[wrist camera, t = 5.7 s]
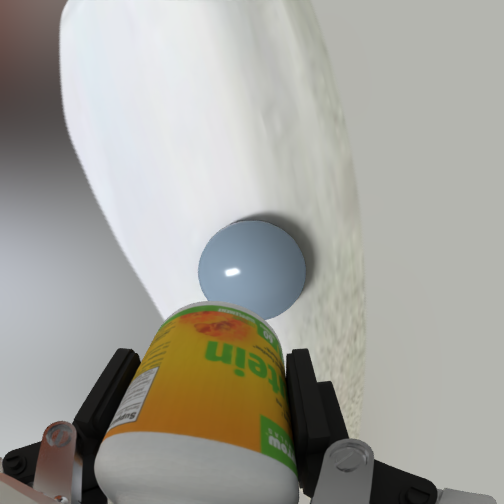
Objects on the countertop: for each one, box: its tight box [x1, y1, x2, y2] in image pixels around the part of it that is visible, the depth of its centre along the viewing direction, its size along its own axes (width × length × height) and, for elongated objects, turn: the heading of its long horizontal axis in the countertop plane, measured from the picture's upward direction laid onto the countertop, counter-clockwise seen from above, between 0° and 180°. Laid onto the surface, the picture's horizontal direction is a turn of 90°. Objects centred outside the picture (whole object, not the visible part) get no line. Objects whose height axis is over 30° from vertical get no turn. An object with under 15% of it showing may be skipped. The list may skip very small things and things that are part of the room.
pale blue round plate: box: [198, 220, 306, 320], centre depth 27 cm, size 10×10×2 cm
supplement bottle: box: [94, 301, 299, 504], centre depth 7 cm, size 5×5×10 cm
